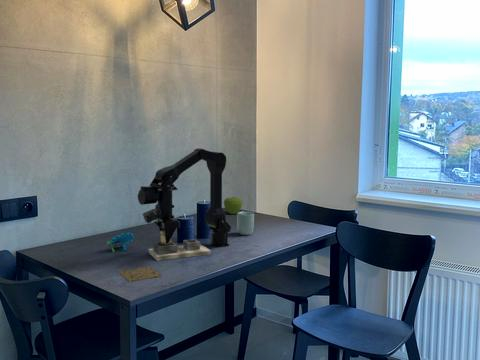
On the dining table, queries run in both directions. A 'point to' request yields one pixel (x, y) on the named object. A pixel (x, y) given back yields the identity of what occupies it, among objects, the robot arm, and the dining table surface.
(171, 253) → the board
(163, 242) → the cylinder
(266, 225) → the dining table surface
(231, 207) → the apple
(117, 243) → the blue green toy animal
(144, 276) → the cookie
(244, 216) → the cup
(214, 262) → the dining table surface
